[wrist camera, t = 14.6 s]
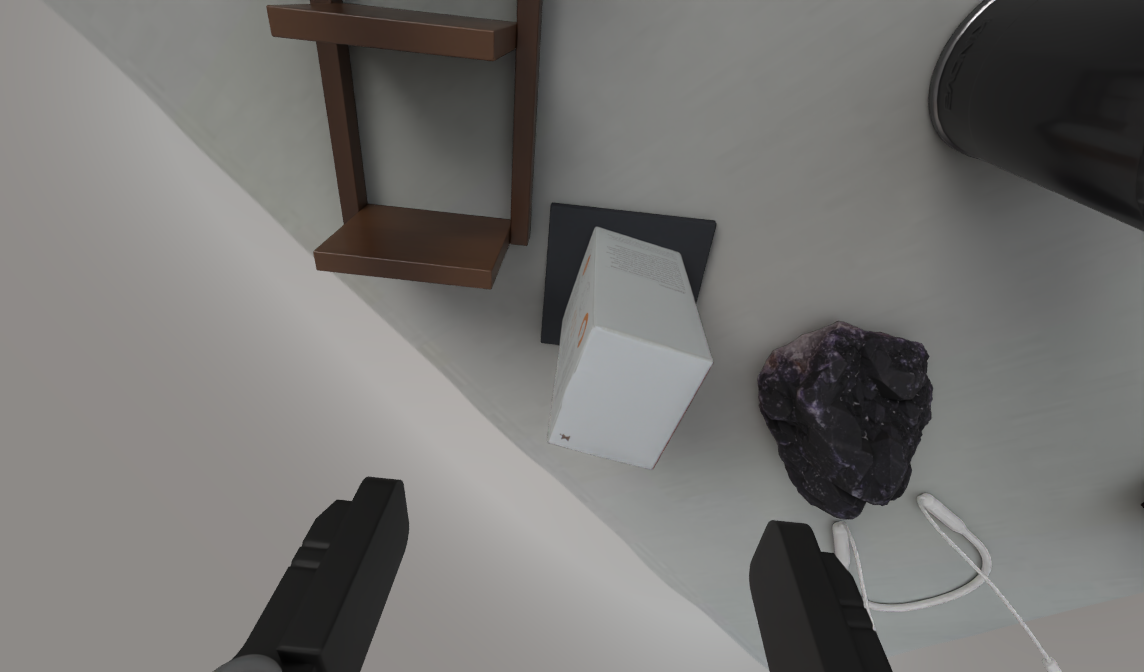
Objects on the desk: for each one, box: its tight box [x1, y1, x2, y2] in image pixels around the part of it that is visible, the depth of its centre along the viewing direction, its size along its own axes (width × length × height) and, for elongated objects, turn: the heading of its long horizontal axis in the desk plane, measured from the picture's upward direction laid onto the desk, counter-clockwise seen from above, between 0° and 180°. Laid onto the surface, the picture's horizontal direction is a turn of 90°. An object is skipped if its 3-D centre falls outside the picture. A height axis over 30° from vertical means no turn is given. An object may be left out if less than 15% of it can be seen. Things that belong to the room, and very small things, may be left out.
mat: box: [541, 203, 716, 345], centre depth 38 cm, size 11×11×1 cm
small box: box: [547, 227, 714, 470], centre depth 32 cm, size 8×6×13 cm
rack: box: [266, 0, 543, 289], centre depth 26 cm, size 12×24×8 cm, turn 175°
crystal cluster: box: [757, 321, 933, 519], centre depth 38 cm, size 13×14×10 cm
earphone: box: [832, 493, 1062, 672], centre depth 50 cm, size 14×17×18 cm
